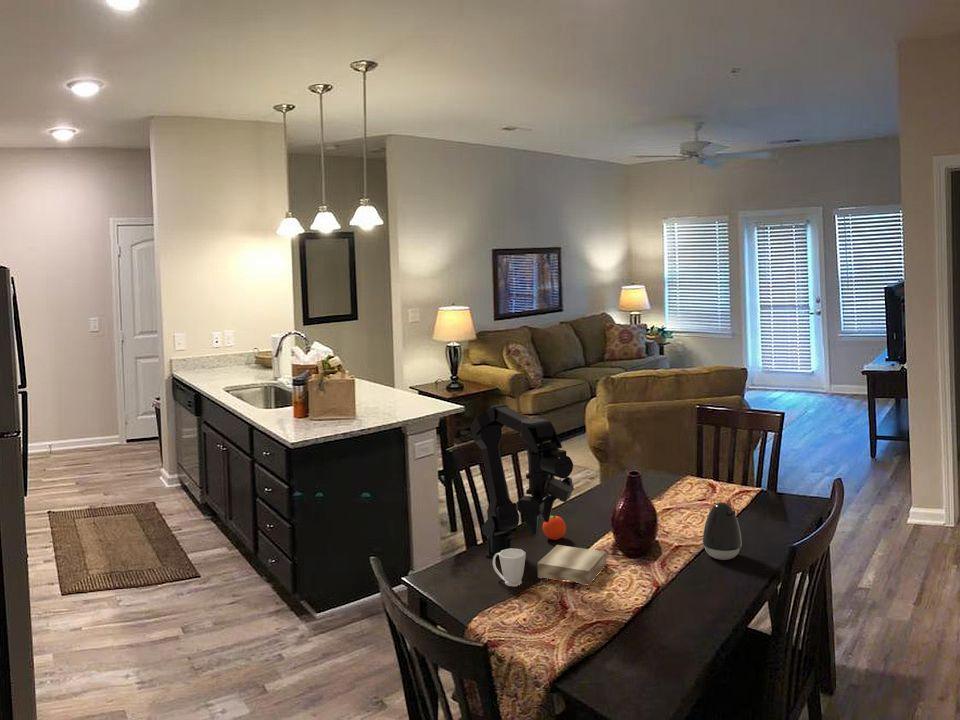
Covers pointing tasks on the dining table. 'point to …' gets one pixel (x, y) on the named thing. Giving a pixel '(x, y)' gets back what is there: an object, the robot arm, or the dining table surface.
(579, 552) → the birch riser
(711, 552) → the grey egg-shaped figure
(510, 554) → the cup
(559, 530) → the clementine
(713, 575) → the dining table surface
